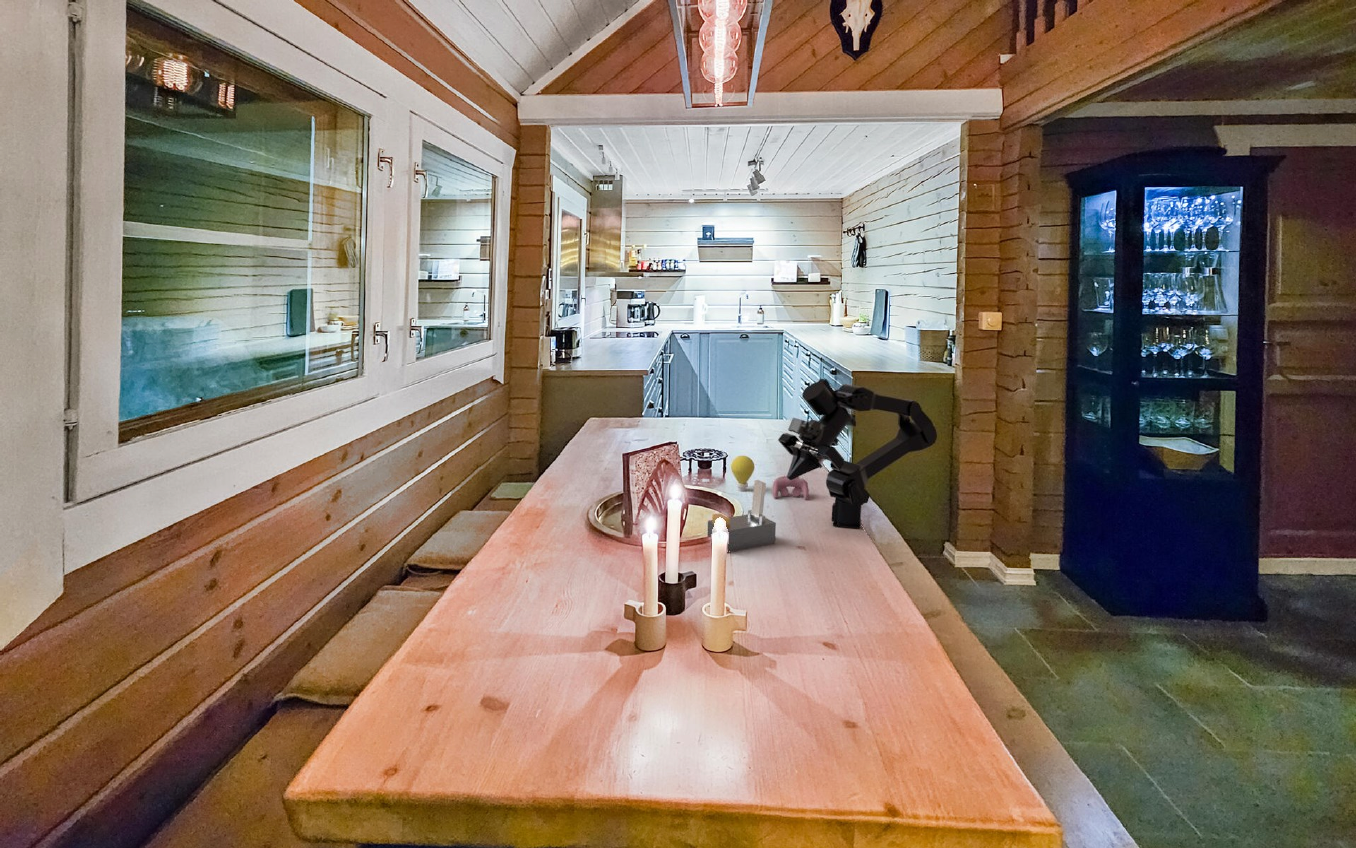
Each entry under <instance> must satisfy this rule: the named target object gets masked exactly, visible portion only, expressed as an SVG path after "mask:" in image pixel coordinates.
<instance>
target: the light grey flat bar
mask: <svg viewBox="0 0 1356 848" xmlns="http://www.w3.org/2000/svg"><path fill="white" fill-rule="evenodd" d="M766 487H767V483H766V482H764V481H761V480H759V479H756V480H754V485H753V494H752V502H751V510H752V511H751V516H753V517H755V518H757V519H759V517H760V516H762V515H763V513H764V504H765V496H766ZM763 516H764V515H763Z"/></svg>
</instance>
